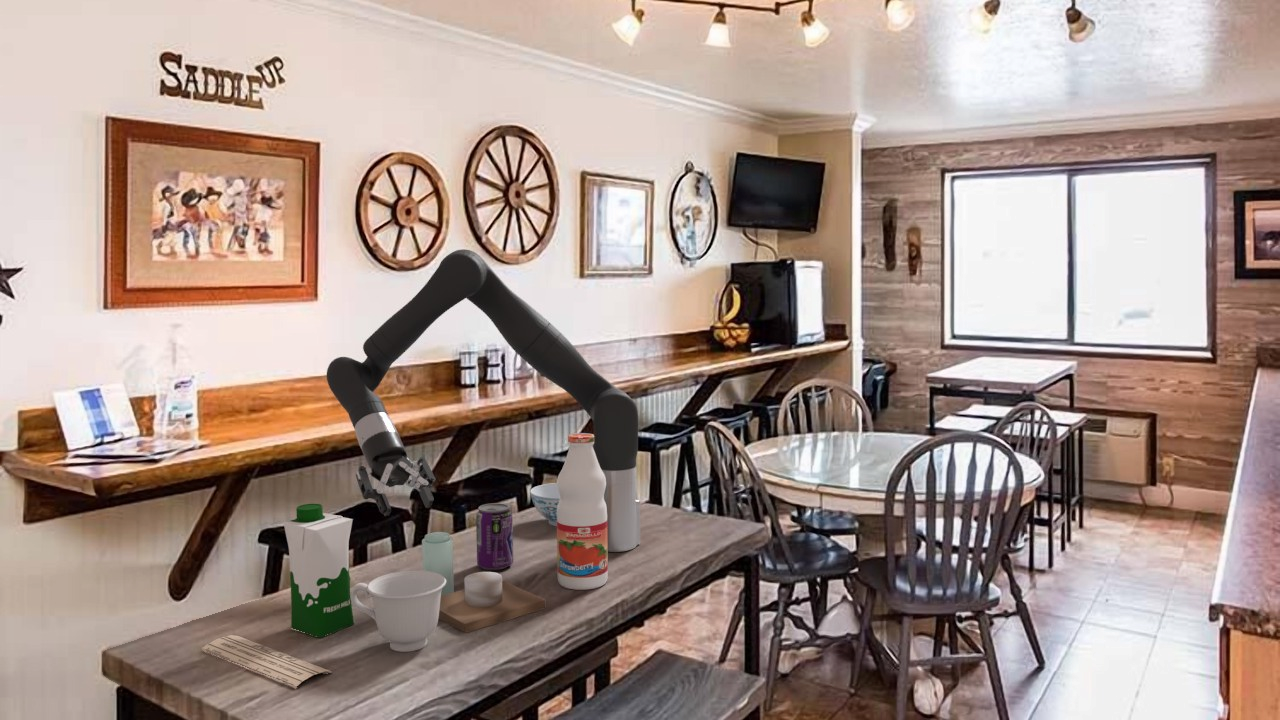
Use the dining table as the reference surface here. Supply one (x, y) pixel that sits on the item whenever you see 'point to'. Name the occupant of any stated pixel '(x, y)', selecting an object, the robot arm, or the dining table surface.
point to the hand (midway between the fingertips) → (409, 509)
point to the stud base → (487, 614)
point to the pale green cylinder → (439, 557)
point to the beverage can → (494, 536)
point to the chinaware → (546, 501)
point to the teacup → (403, 606)
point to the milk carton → (319, 571)
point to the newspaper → (263, 659)
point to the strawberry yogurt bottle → (581, 517)
